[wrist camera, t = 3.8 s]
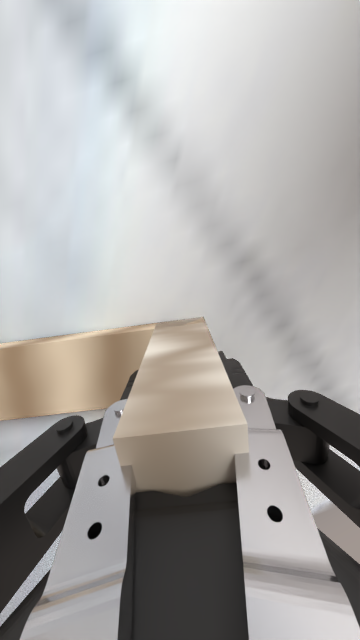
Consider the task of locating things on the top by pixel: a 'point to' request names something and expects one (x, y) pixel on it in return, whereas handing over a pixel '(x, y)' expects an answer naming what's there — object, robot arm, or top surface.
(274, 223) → the top surface
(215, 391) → the bracket
